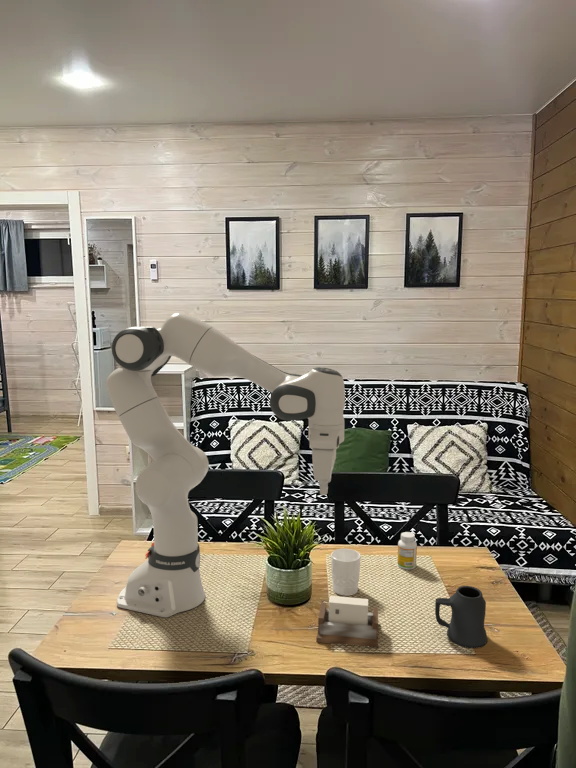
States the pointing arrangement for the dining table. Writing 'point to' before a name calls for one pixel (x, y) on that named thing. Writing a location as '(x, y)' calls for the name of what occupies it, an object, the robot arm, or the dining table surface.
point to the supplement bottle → (407, 551)
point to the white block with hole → (348, 610)
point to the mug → (465, 617)
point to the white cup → (345, 571)
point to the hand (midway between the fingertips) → (325, 487)
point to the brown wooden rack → (347, 630)
